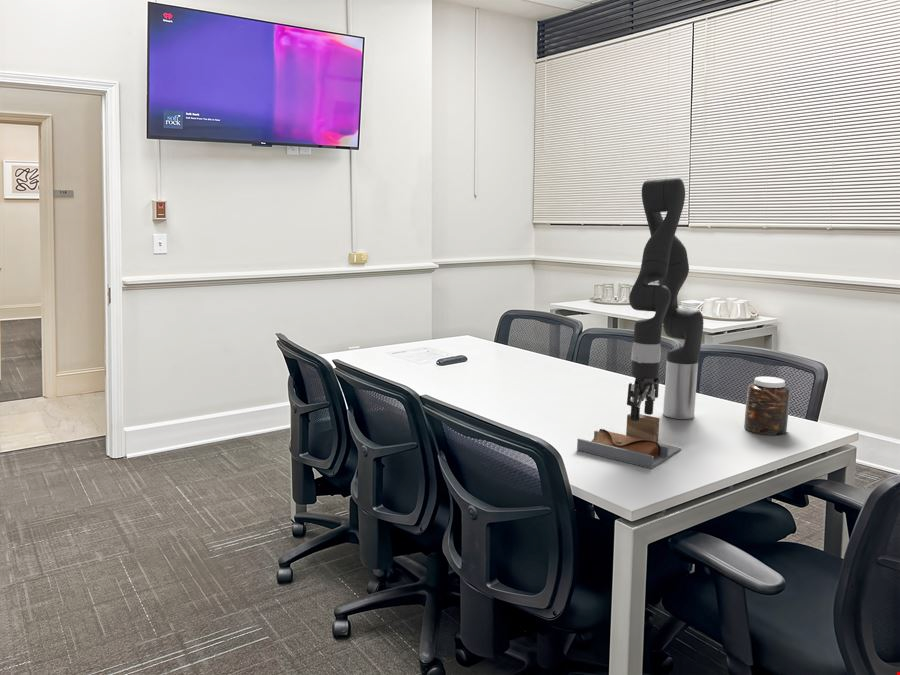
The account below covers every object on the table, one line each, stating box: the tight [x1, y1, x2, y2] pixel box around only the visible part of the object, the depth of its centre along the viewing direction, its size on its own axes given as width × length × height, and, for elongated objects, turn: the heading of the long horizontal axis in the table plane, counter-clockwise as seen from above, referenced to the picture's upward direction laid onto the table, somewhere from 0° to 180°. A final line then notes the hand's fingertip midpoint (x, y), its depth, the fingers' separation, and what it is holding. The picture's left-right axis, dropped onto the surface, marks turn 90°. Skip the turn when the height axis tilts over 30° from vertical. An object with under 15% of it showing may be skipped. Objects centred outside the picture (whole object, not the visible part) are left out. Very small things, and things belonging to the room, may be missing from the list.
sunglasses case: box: [590, 428, 661, 459], centre depth 194 cm, size 18×7×7 cm, turn 51°
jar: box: [743, 376, 791, 436], centre depth 216 cm, size 12×12×15 cm
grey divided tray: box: [576, 412, 682, 469], centre depth 196 cm, size 18×21×8 cm
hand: (641, 417), depth 202 cm, fingers open, 8 cm apart
